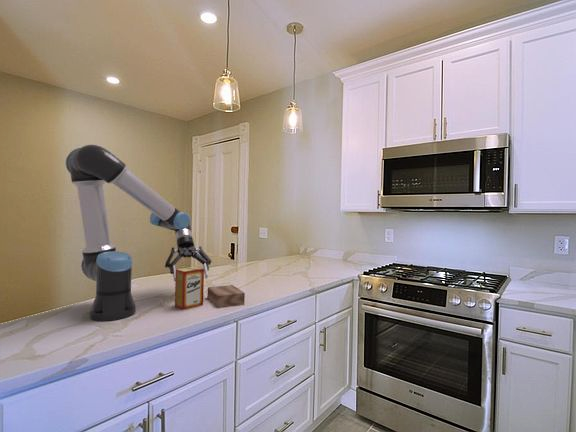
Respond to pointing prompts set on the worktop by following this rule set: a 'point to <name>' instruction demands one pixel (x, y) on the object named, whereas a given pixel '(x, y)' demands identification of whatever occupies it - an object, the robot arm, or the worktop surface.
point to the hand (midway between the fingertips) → (191, 278)
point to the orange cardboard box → (189, 287)
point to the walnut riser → (225, 296)
